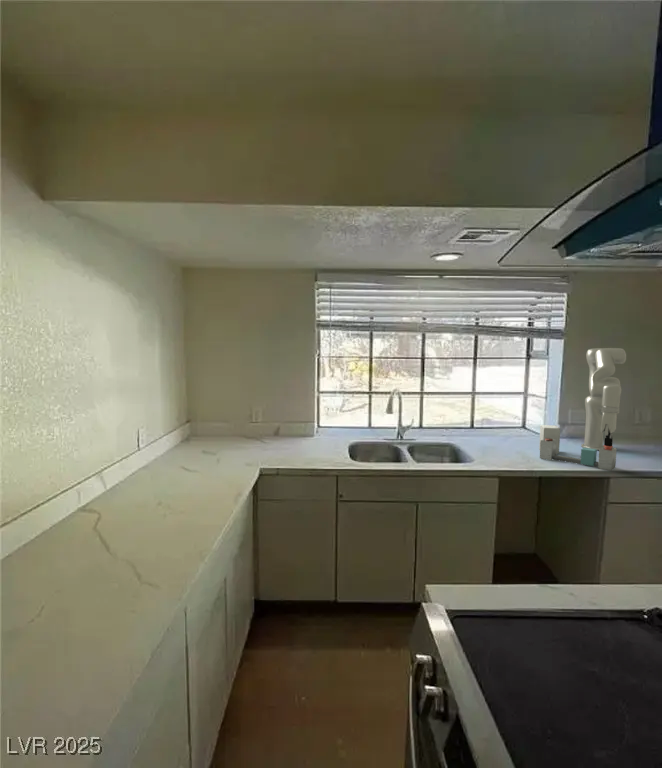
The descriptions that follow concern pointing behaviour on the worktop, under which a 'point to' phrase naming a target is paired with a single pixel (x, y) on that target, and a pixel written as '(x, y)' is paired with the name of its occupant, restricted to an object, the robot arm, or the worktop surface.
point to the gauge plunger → (608, 447)
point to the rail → (571, 460)
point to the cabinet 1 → (548, 448)
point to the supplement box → (550, 434)
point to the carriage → (588, 456)
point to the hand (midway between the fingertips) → (608, 445)
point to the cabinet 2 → (607, 458)
